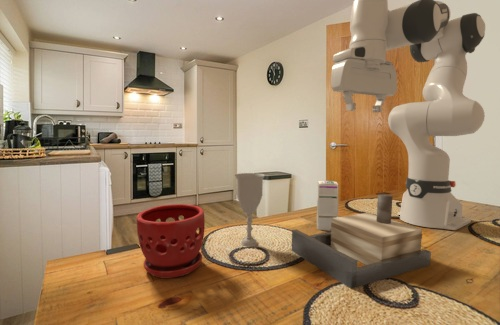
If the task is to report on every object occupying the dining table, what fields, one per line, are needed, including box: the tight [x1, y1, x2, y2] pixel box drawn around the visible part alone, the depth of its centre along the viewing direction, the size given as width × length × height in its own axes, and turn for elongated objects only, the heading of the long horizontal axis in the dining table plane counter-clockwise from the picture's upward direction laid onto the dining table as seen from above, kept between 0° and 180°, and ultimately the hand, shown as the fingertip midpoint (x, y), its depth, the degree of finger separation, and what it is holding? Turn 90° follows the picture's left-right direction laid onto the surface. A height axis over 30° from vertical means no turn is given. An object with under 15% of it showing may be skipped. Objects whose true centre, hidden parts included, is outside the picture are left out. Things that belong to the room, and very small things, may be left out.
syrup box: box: [316, 180, 340, 232], centre depth 82 cm, size 6×6×14 cm
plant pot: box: [136, 203, 205, 279], centre depth 58 cm, size 13×13×12 cm
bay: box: [291, 229, 432, 290], centre depth 61 cm, size 22×18×6 cm
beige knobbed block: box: [330, 193, 423, 265], centre depth 63 cm, size 12×14×13 cm
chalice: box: [234, 172, 266, 248], centre depth 68 cm, size 7×7×18 cm
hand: (364, 111), depth 74 cm, fingers open, 8 cm apart
